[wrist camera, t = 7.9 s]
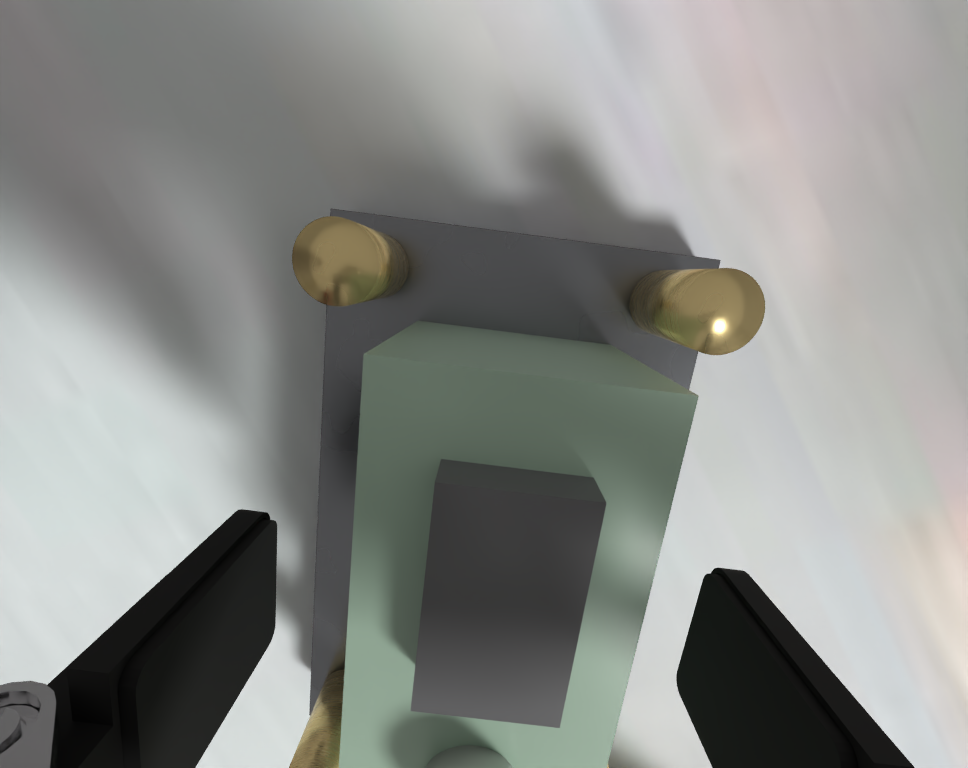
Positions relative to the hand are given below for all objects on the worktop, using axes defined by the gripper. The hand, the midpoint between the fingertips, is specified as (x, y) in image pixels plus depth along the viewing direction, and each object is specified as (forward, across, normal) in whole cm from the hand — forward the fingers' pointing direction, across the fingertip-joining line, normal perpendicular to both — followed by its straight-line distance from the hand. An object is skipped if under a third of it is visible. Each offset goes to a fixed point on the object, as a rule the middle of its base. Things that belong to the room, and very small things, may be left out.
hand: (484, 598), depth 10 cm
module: (+3, 0, 0) cm, 3 cm away
